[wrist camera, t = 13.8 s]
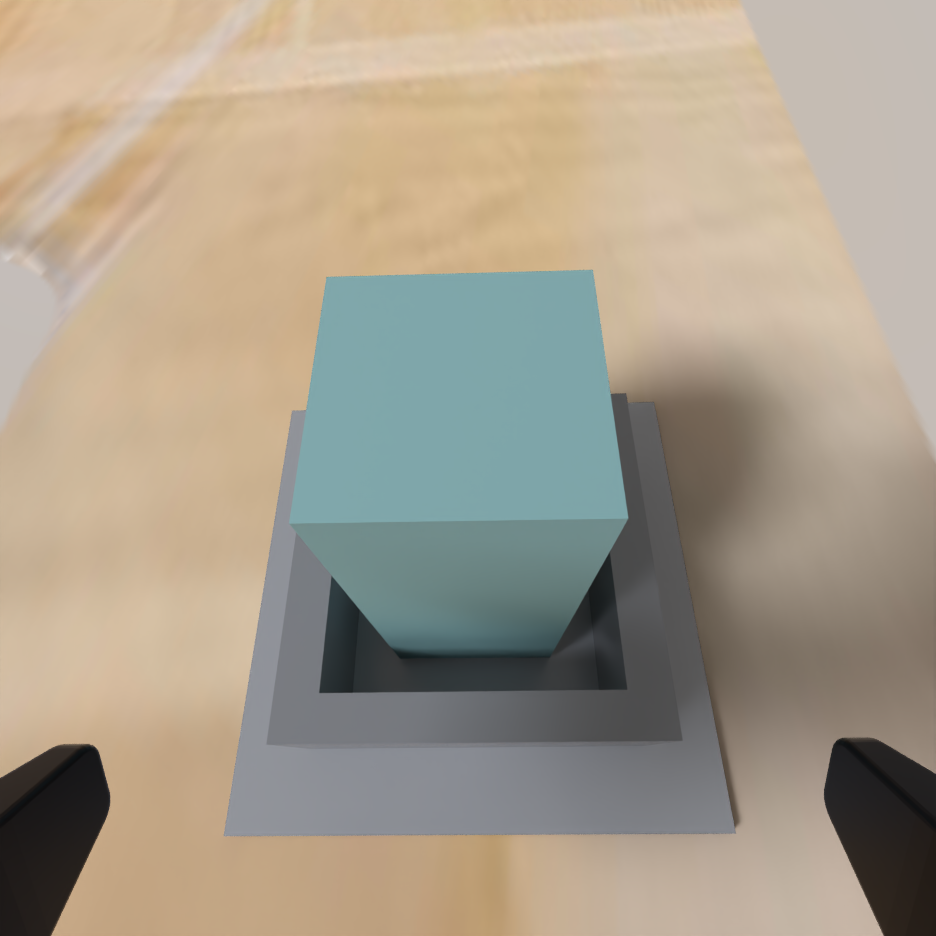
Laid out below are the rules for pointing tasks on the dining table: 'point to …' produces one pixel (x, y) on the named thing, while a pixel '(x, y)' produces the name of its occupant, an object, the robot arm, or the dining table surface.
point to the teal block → (461, 457)
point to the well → (486, 700)
